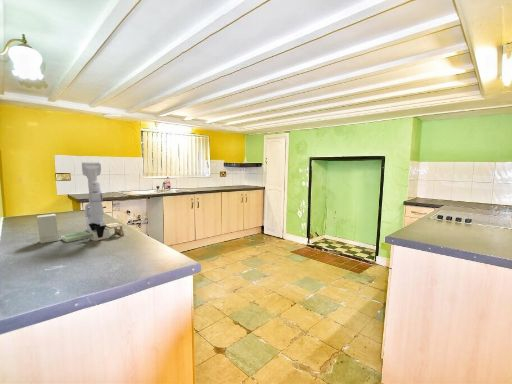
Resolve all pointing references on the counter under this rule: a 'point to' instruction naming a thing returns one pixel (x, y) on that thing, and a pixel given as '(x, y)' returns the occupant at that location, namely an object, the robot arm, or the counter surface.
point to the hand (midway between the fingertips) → (98, 236)
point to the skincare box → (47, 228)
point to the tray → (74, 236)
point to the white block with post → (94, 235)
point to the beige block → (117, 230)
